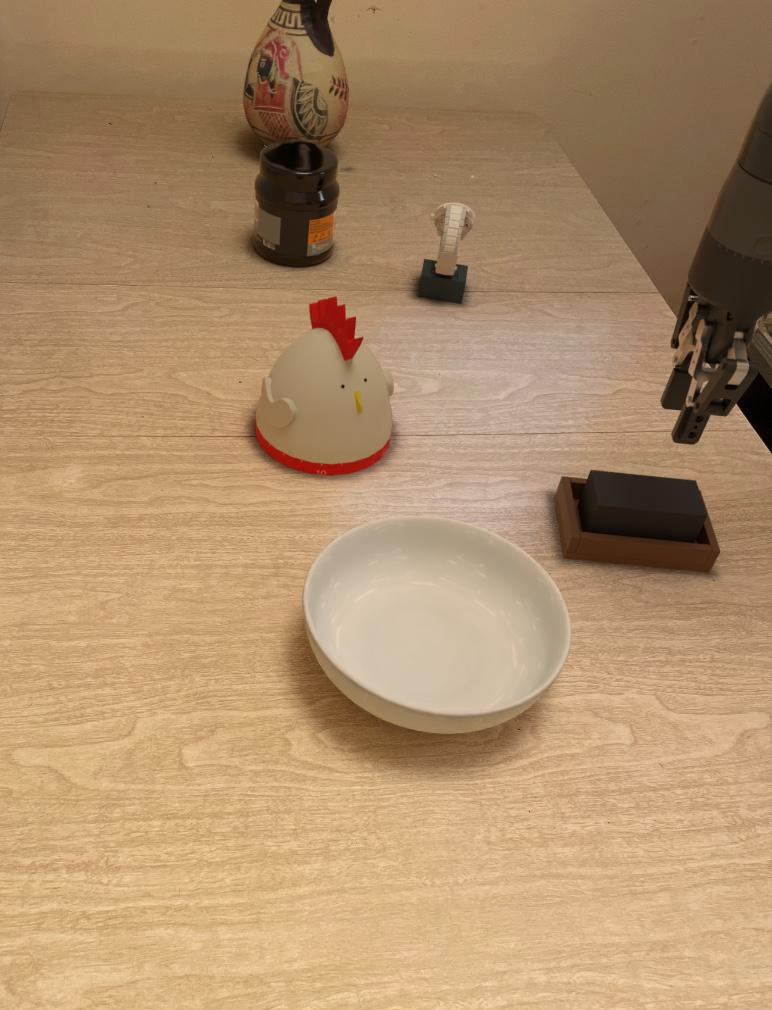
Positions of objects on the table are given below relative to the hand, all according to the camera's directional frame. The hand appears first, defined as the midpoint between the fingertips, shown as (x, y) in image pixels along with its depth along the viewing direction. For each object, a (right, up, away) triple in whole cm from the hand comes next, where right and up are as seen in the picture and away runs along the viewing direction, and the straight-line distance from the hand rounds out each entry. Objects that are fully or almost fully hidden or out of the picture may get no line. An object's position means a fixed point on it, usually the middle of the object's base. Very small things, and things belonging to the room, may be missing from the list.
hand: (677, 423), depth 82 cm
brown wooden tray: (-1, -9, +10) cm, 13 cm away
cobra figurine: (-16, +23, +38) cm, 47 cm away
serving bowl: (-22, -20, -3) cm, 30 cm away
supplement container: (-34, +30, +43) cm, 62 cm away
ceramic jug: (-34, +52, +63) cm, 88 cm away
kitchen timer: (-30, +2, +17) cm, 35 cm away
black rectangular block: (-1, -8, +9) cm, 12 cm away
